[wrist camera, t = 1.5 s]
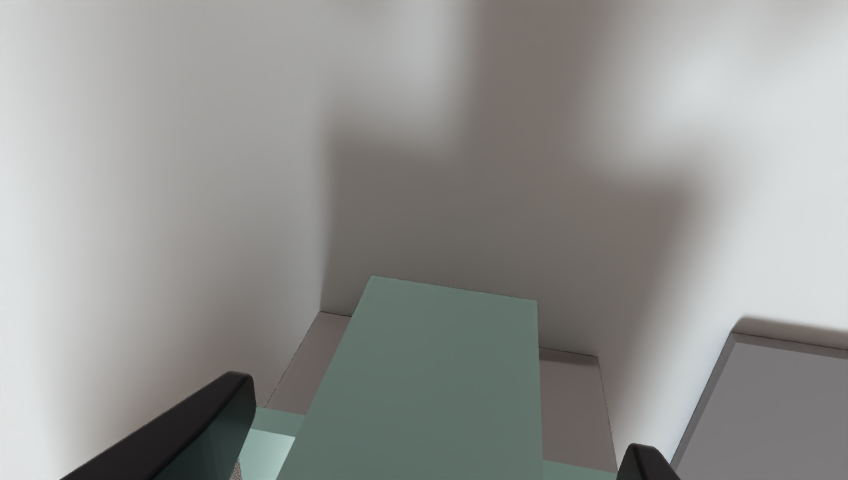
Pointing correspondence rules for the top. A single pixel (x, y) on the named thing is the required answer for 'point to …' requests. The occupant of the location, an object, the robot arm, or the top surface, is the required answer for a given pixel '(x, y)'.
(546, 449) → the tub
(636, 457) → the robot arm
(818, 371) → the mat
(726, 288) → the top surface
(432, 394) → the lid
